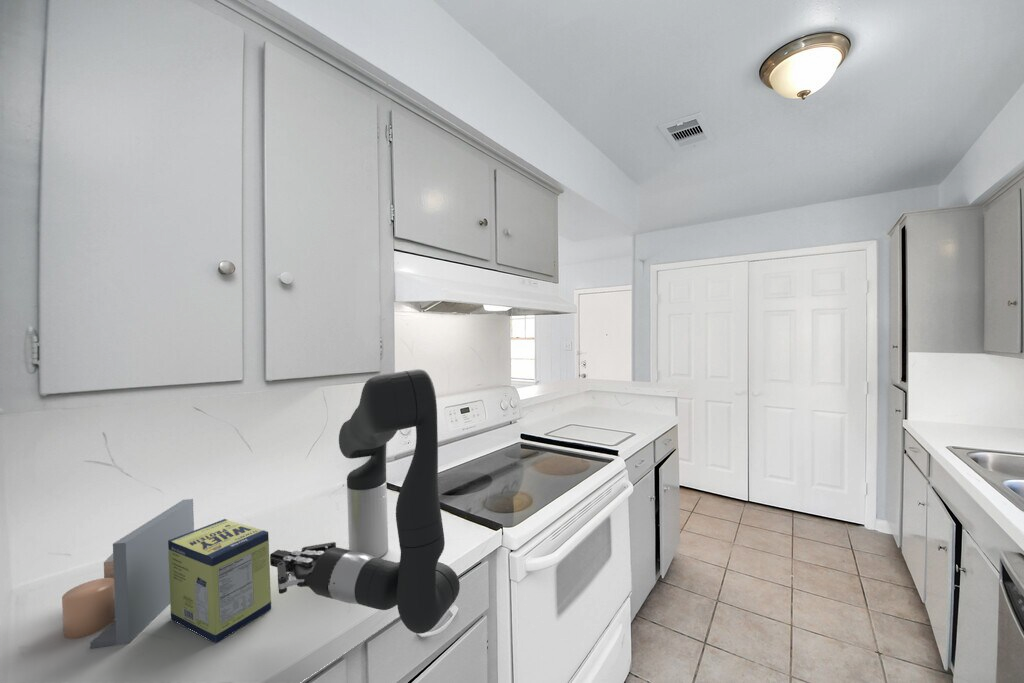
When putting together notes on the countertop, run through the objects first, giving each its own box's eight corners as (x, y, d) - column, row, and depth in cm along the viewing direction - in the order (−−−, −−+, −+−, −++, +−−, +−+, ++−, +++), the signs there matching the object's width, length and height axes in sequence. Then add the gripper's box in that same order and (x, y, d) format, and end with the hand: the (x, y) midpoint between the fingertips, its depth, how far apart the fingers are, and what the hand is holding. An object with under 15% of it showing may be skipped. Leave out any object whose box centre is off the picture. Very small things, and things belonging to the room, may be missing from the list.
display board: (165, 581, 91) (162, 501, 91) (195, 578, 92) (192, 498, 92) (90, 648, 72) (86, 546, 72) (129, 643, 73) (125, 542, 73)
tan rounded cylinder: (85, 615, 81) (83, 580, 81) (125, 610, 82) (124, 575, 82) (51, 641, 74) (50, 603, 74) (96, 635, 75) (95, 597, 75)
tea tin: (116, 592, 88) (114, 551, 88) (146, 586, 90) (144, 545, 90) (105, 606, 83) (103, 562, 83) (137, 599, 85) (135, 556, 85)
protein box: (226, 589, 88) (224, 517, 88) (273, 608, 81) (270, 531, 81) (168, 620, 79) (165, 539, 79) (215, 645, 72) (212, 557, 72)
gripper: (372, 535, 77) (301, 521, 83) (316, 576, 65) (238, 556, 71) (373, 574, 77) (303, 557, 83) (318, 622, 65) (240, 598, 71)
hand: (273, 557), depth 77 cm, fingers closed
